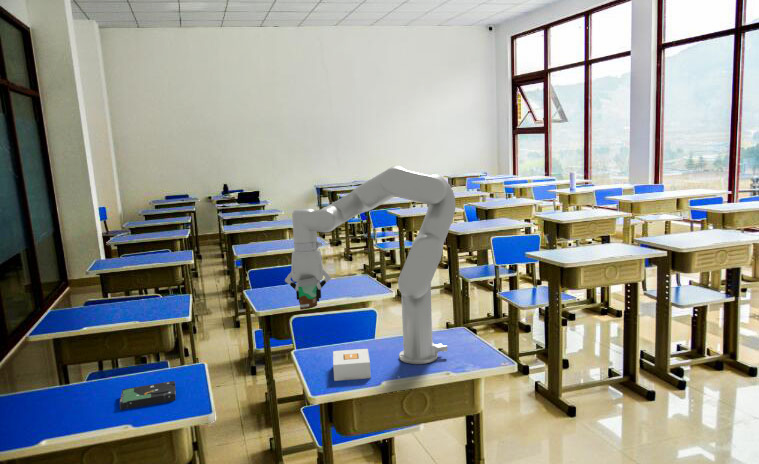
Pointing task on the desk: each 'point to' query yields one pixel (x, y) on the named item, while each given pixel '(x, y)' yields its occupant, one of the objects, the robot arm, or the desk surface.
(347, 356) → the orange small block
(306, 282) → the food container
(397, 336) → the desk surface
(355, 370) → the switch box
